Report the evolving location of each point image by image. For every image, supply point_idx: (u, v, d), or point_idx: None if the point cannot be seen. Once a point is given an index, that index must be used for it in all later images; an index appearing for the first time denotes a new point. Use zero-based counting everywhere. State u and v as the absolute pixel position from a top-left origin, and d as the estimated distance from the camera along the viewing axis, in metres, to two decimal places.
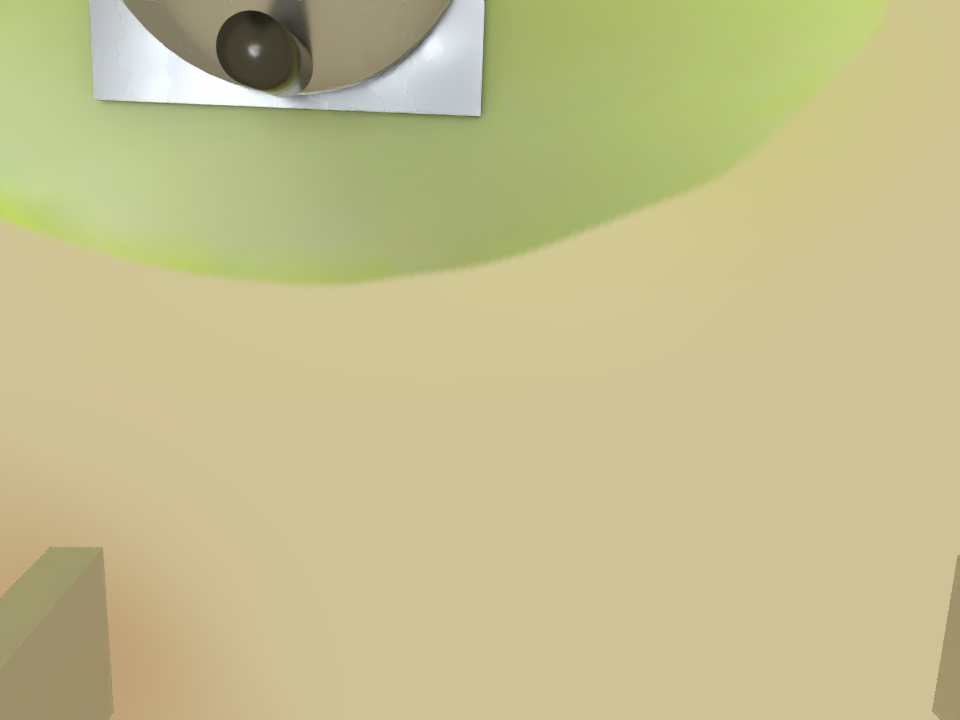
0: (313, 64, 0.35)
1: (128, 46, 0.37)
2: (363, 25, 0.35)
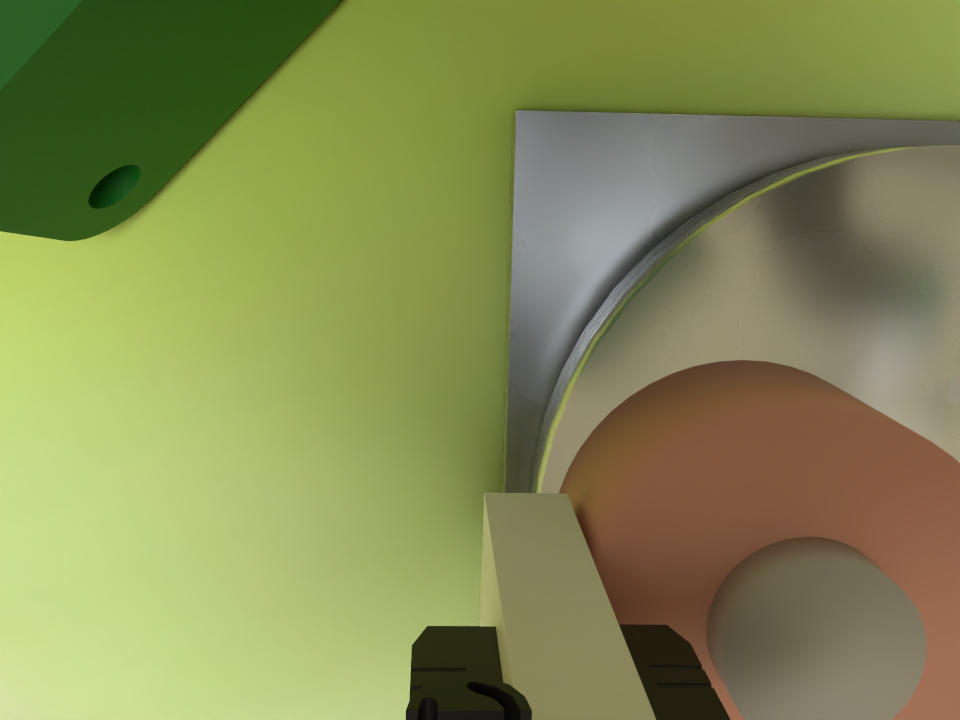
0: None
1: None
2: None
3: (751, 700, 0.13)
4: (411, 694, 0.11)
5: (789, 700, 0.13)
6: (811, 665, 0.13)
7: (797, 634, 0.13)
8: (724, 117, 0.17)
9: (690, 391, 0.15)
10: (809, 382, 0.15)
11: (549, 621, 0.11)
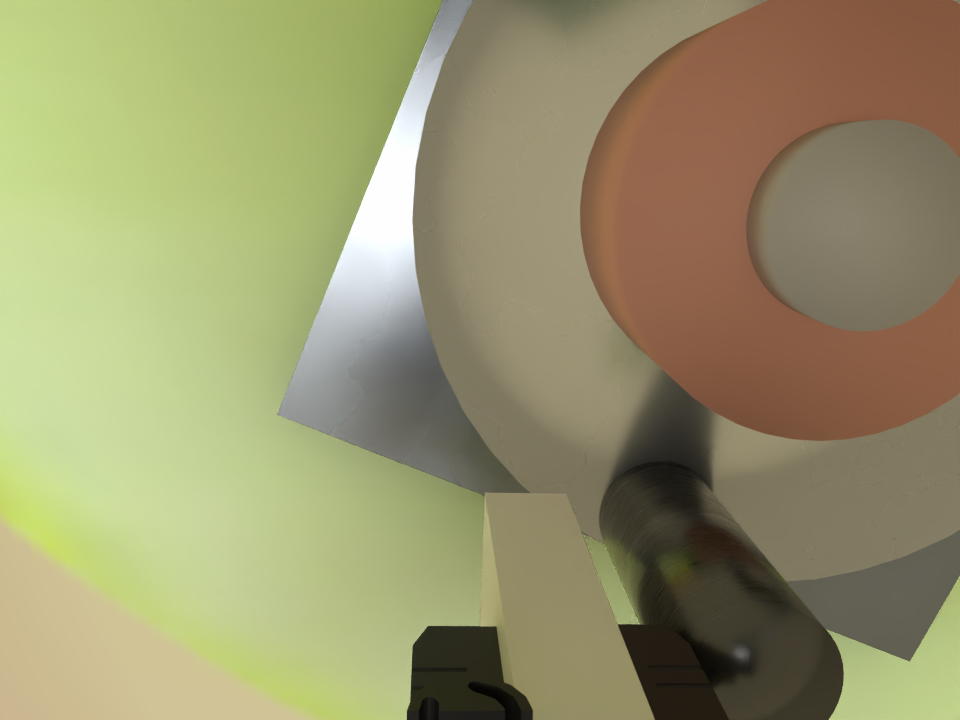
0: None
1: (378, 351, 0.19)
2: (828, 501, 0.19)
3: (787, 240, 0.13)
4: (412, 694, 0.11)
5: (821, 257, 0.13)
6: (857, 227, 0.13)
7: (858, 186, 0.13)
8: None
9: None
10: None
11: (550, 621, 0.11)
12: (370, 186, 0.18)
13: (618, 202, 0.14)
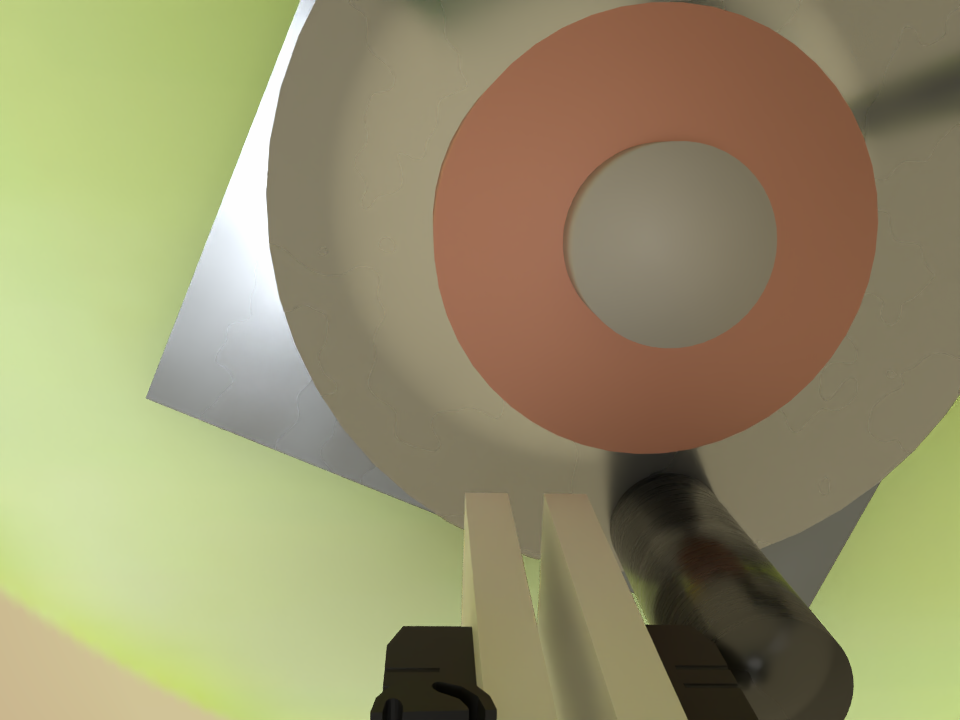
0: None
1: (247, 336, 0.19)
2: (815, 437, 0.19)
3: (604, 297, 0.13)
4: None
5: (643, 295, 0.13)
6: (660, 254, 0.13)
7: (641, 220, 0.13)
8: None
9: None
10: None
11: (523, 621, 0.11)
12: (235, 171, 0.18)
13: (451, 325, 0.14)
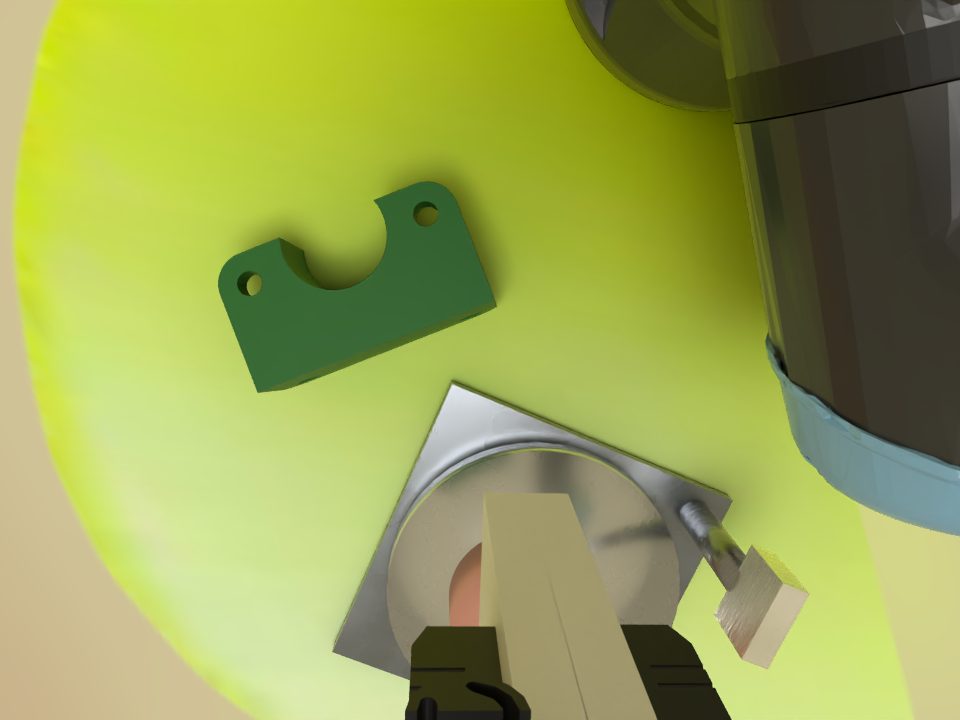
0: None
1: (373, 627, 0.47)
2: None
3: None
4: (410, 694, 0.11)
5: None
6: None
7: None
8: (525, 415, 0.45)
9: None
10: None
11: (549, 621, 0.11)
12: (371, 567, 0.47)
13: None
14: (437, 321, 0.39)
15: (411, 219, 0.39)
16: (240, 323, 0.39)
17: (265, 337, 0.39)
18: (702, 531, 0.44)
